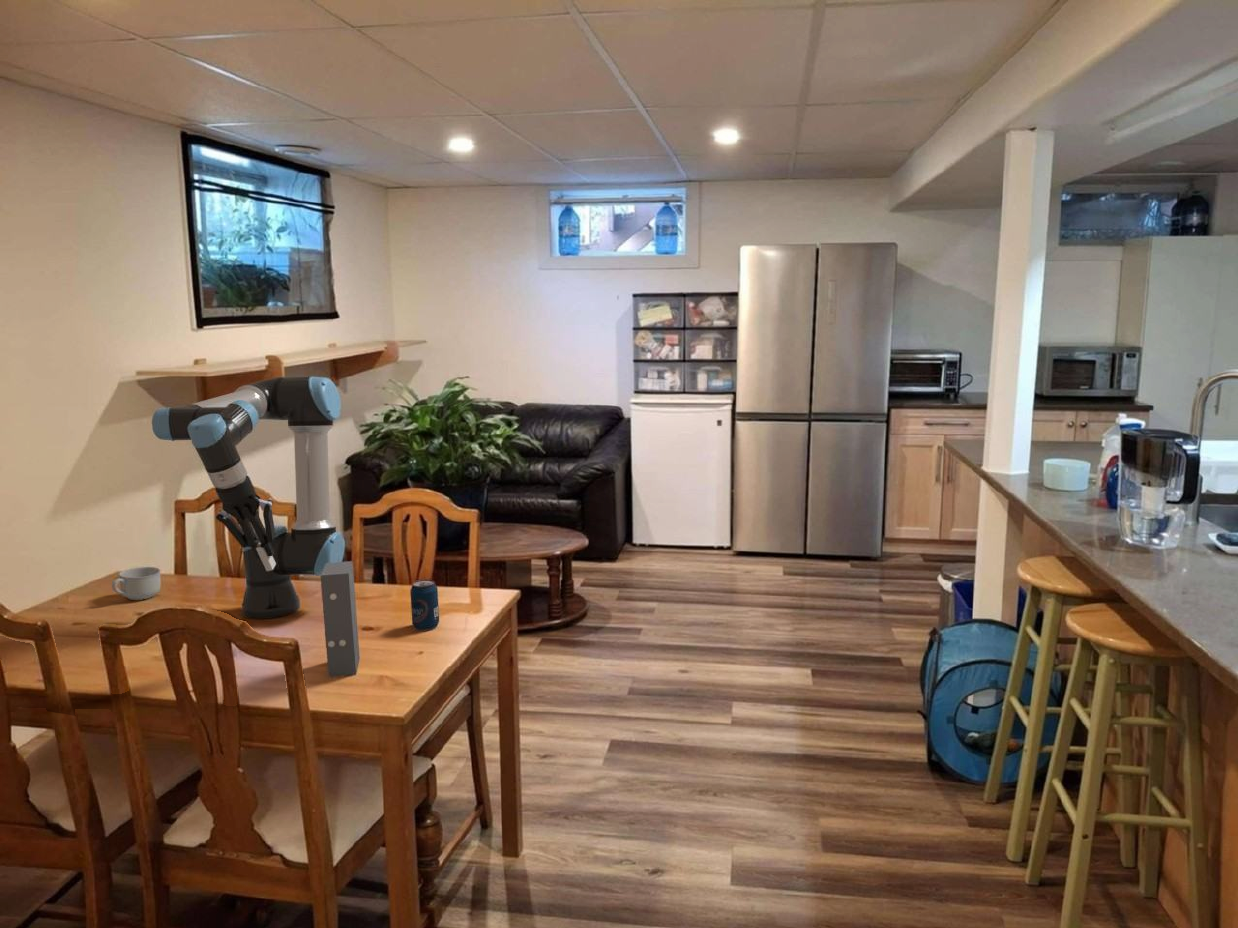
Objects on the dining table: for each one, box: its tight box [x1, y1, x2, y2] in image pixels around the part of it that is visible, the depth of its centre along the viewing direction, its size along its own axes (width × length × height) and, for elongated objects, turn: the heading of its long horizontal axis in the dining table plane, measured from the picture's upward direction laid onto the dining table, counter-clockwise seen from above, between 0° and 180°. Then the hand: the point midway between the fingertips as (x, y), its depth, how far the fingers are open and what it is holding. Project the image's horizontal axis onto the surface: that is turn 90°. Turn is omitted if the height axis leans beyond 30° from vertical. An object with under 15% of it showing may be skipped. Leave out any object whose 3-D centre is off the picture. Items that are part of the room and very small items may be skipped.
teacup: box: [111, 566, 162, 601], centre depth 257 cm, size 14×11×8 cm
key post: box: [320, 560, 360, 678], centre depth 202 cm, size 6×10×24 cm, turn 12°
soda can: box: [409, 579, 440, 632], centre depth 229 cm, size 7×7×12 cm
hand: (271, 567), depth 207 cm, fingers closed
